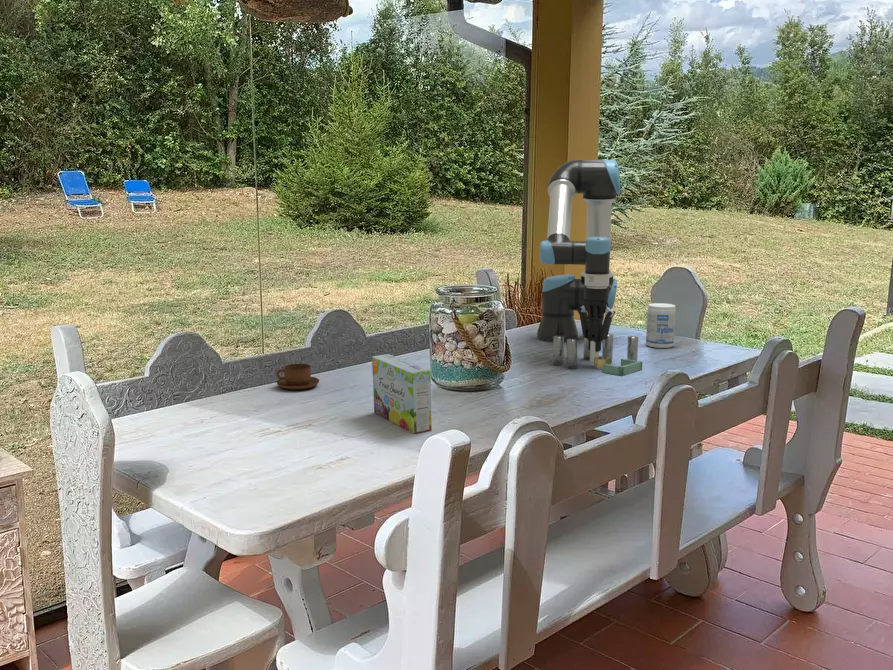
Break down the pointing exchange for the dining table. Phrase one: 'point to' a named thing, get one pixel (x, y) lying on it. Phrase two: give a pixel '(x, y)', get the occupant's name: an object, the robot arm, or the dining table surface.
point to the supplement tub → (660, 325)
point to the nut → (601, 361)
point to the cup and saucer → (297, 377)
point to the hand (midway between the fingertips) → (594, 361)
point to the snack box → (402, 393)
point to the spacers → (572, 350)
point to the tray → (623, 367)
